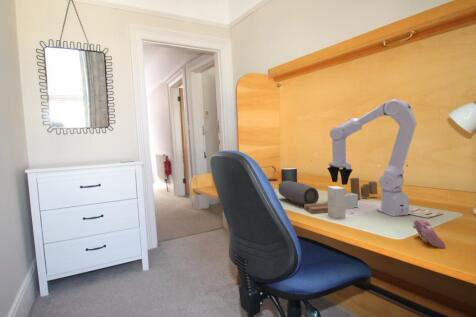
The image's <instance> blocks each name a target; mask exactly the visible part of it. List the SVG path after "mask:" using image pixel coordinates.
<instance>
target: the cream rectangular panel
mask: <svg viewBox="0 0 476 317" xmlns="http://www.w3.org/2000/svg"><path fill="white" fill-rule="evenodd" d="M355 214H356V213H354V212H352V211H350V212H349V211H348V212H345V215H355Z"/></svg>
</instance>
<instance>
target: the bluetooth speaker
mask: <svg viewBox="0 0 476 317" xmlns="http://www.w3.org/2000/svg"><path fill="white" fill-rule="evenodd" d="M277 189H278V193H279V195H280V196H282V197H283V198H285V199H287V200H289V202H291V203H293V204H296V205H300V206H304V205H305V204H317V203H318V201H319V198H320V194H319V191H318V190H317V189H316V188H315V187H314V186H313V187H312V186H310V185H307V184H304V183H301V182H295V181H291V180H283V181H281V182H280V183H279V185H278V188H277Z"/></svg>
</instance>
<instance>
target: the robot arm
mask: <svg viewBox="0 0 476 317" xmlns="http://www.w3.org/2000/svg"><path fill="white" fill-rule="evenodd" d="M380 117H389V118H391V119H393V120H394V121H395V122H396V124H397V125H398V126H399V127H398V129H397V130H398V131H397V134H396V137H395V141H394V144H393V147H392V151H391V155H390V158H389V161H388V165H387V166H386V168H385V170H384V171H383V174H382V176H380V177H379V180H378V184H379V186H380V188H381V189H380V193H381V194H380V195H381V196H380V199H381V203H380V205H381V206H380V208H375V210H376V211H378V212H380V213H384V214H386V215H389V216H391V217H396V216H397V217H398V216H409V215H408V214H410V215H411V212H410V211H409V210H410V208H409V204H410V202H409V201H410V198H409V196H408V195H407V194H406V193H404V191H403V188H402V186H403V185H404V181H405V179H404V172H405V171H404V165H405V163H406V159H407V156H408V153H409V150H410V147H411V142H412V140H413V137H414V133H415V130H416V126H417V120H416V118H415V114H414V110H413V107H412V105H410V104H409V102H407V101H405V100H399V99H395V98H394V99H390V100H388V101H387V102H383V103H381V104H380V105H379V106H377V107H375V108H373V109H371V110H370V111H369V112H366V113H365V114H364V115H362V116H360V117H359V118H358V117H353V118H352V117H351V118H348V121H346V122H344V123H340V124H339V126H333V127H332V129H331V130H329V131H330V132H329V136H330V138H331V139H332V140H331V143H332V144H331V145H332V148H331V149H332V161H331V162H330V161H329V162H328V167H327V168H326V169H327V171H328V173H329V174H330V178H331V181H332V183H337V182H338V181H339V180H338V179H339V174H340V178H341V179H340V181H341V185H342V186H346V185H348V183H349V180H350V176H351V174H352V172H353V168H352V164H350V163H349V162H347V147H346V146H347V145H346V144H347V141H346V140H347V138H348V137H350V136H351V135H353V134H354V133H357V132H358V131H360V130H362V128H363V126H364V125H367V124H368V123H370V122H372V121H374V120H376V119H378V118H380Z"/></svg>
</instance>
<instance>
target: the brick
mask: <svg viewBox="0 0 476 317" xmlns="http://www.w3.org/2000/svg"><path fill="white" fill-rule="evenodd" d="M354 207H357V208H358V207H359V199H358V195H357V194H354V193H351V192H348V193H346V192H345V210H347V208H348V209H354Z"/></svg>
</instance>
